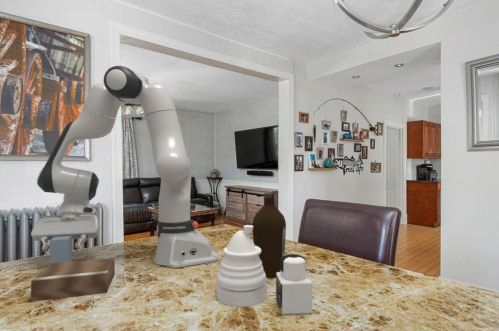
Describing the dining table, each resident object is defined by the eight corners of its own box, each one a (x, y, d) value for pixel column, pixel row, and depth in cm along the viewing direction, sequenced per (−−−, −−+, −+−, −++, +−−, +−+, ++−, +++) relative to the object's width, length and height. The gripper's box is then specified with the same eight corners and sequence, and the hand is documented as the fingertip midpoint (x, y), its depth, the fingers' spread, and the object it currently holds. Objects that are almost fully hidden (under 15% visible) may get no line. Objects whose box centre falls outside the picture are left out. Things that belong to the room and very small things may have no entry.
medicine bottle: (275, 300, 71) (275, 252, 72) (304, 299, 72) (303, 251, 72) (281, 315, 64) (281, 261, 64) (312, 313, 65) (312, 260, 65)
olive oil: (253, 278, 86) (253, 194, 86) (251, 266, 96) (251, 191, 96) (288, 278, 86) (288, 194, 86) (283, 266, 97) (283, 191, 97)
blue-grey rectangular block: (72, 265, 98) (72, 235, 98) (67, 270, 93) (67, 239, 93) (55, 266, 96) (55, 236, 96) (49, 271, 91) (49, 240, 91)
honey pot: (271, 288, 79) (271, 222, 79) (257, 310, 66) (257, 232, 67) (228, 282, 83) (228, 220, 83) (207, 302, 71) (207, 228, 71)
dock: (114, 274, 89) (114, 257, 89) (106, 292, 76) (107, 272, 76) (51, 280, 84) (51, 262, 84) (30, 301, 71) (31, 280, 71)
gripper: (36, 210, 100) (21, 246, 90) (100, 208, 105) (93, 242, 95) (41, 221, 104) (28, 256, 94) (103, 218, 109) (96, 251, 100)
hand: (61, 249), depth 95 cm, fingers open, 8 cm apart
